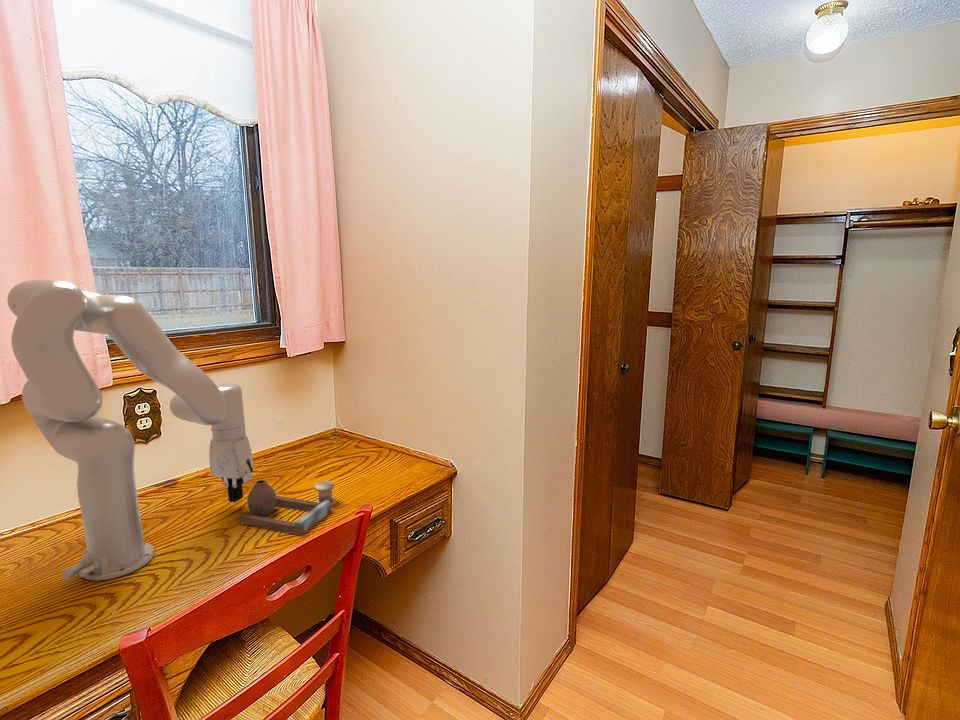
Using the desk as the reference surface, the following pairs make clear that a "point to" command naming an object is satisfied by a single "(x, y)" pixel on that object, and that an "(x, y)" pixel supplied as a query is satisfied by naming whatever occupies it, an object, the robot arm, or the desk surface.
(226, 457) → the robot arm
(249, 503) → the vase
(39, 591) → the desk surface
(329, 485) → the thread spool
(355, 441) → the desk surface
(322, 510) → the channel
